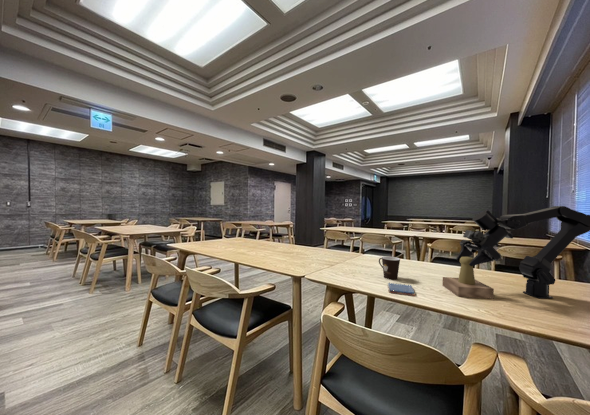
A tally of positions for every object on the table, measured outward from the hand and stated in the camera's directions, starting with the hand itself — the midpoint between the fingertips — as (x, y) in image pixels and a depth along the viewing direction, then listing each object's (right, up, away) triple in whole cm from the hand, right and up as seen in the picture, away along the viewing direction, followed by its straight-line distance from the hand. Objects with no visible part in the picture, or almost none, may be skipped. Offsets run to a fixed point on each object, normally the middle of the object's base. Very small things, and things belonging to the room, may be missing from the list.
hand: (463, 262), depth 101 cm
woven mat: (-27, -13, +1) cm, 30 cm away
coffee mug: (-24, -12, +20) cm, 33 cm away
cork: (+1, -9, 0) cm, 9 cm away
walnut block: (+1, -13, 0) cm, 13 cm away
